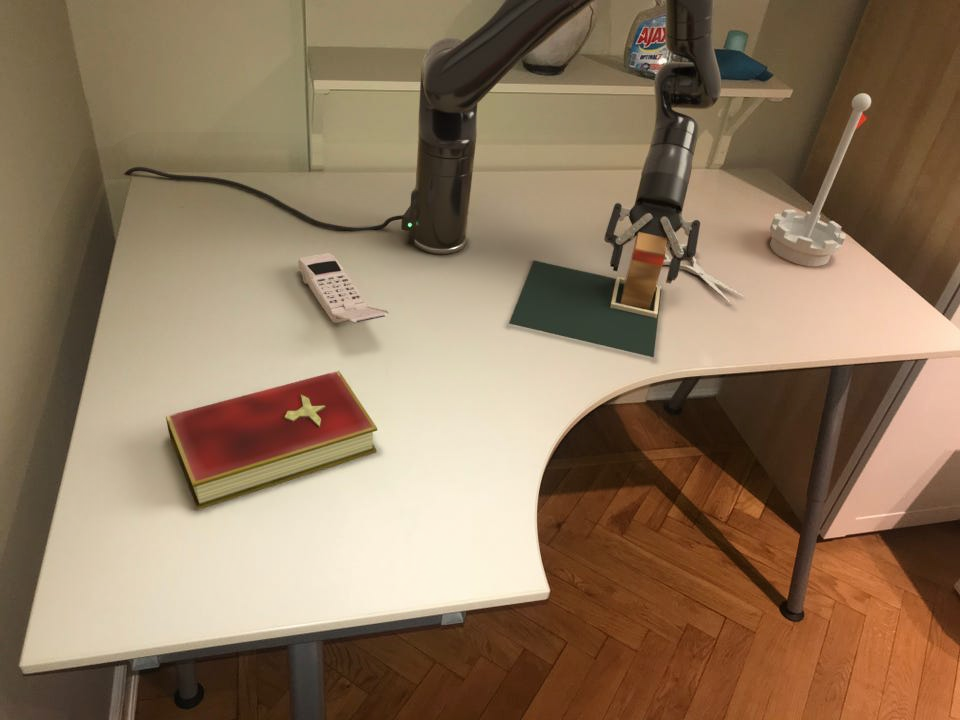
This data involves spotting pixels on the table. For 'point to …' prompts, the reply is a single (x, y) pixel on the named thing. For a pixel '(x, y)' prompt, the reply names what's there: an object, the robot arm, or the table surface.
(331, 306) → the mobile phone
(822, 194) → the flag stand
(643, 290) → the box
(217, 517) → the table surface
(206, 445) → the hardcover book
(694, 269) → the scissors
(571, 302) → the mat
